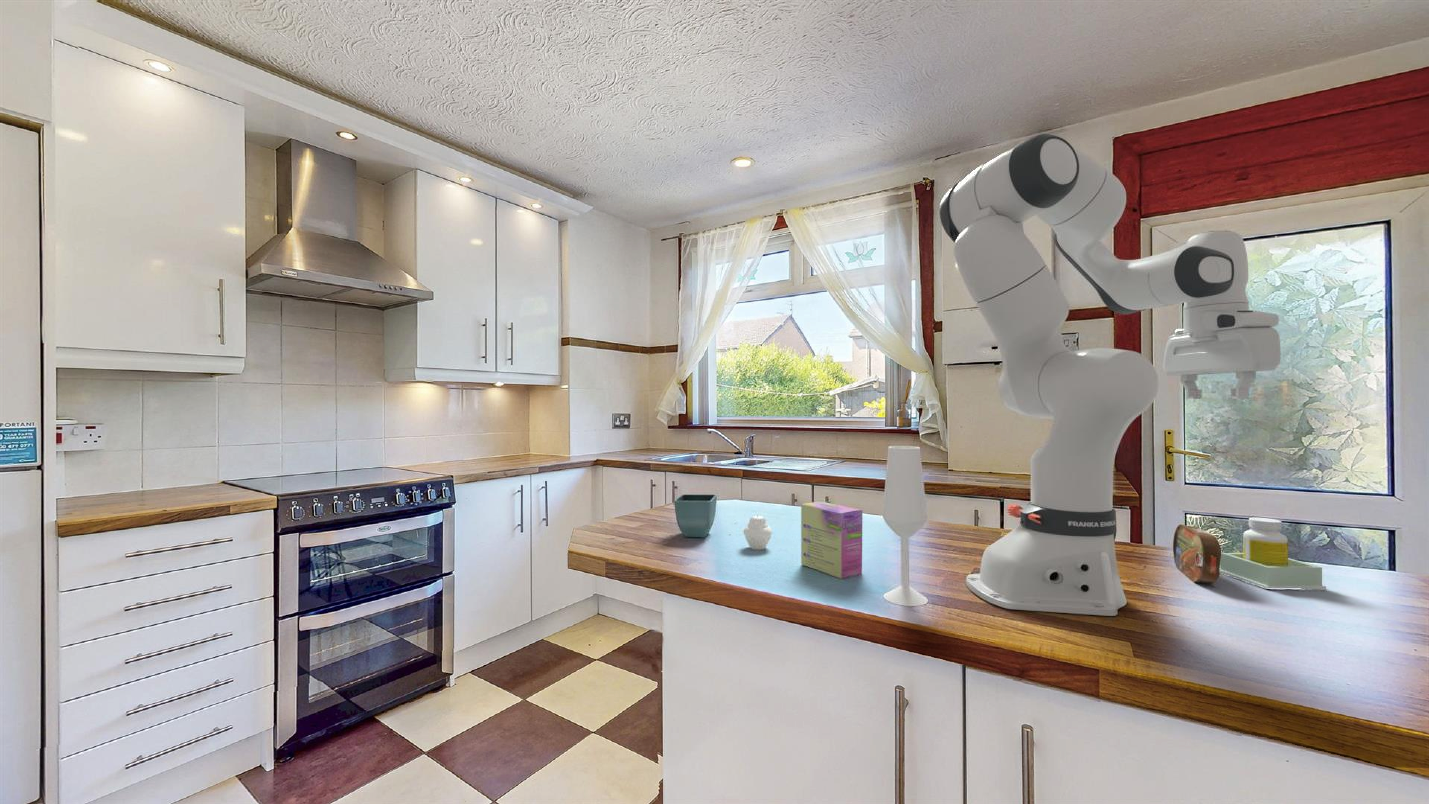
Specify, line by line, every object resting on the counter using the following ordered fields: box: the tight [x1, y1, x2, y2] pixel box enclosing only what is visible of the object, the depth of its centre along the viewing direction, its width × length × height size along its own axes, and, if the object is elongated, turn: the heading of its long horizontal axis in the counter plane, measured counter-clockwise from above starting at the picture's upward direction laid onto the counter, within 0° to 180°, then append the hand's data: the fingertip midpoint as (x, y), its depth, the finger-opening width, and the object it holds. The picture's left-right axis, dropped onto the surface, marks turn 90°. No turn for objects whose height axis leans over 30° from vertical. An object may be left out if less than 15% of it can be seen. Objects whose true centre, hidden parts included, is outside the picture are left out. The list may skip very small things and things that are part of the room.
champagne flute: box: [882, 445, 929, 607], centre depth 87 cm, size 7×7×24 cm
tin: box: [1172, 523, 1222, 585], centre depth 96 cm, size 15×3×8 cm, turn 154°
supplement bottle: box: [1242, 517, 1289, 566], centre depth 93 cm, size 5×5×10 cm
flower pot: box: [673, 493, 718, 539], centre depth 129 cm, size 9×9×9 cm
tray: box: [1220, 552, 1327, 591], centre depth 93 cm, size 9×9×4 cm
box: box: [800, 500, 863, 580], centre depth 102 cm, size 10×6×12 cm, turn 34°
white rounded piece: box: [743, 514, 773, 551], centre depth 117 cm, size 6×6×7 cm
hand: (1215, 398), depth 100 cm, fingers open, 8 cm apart
